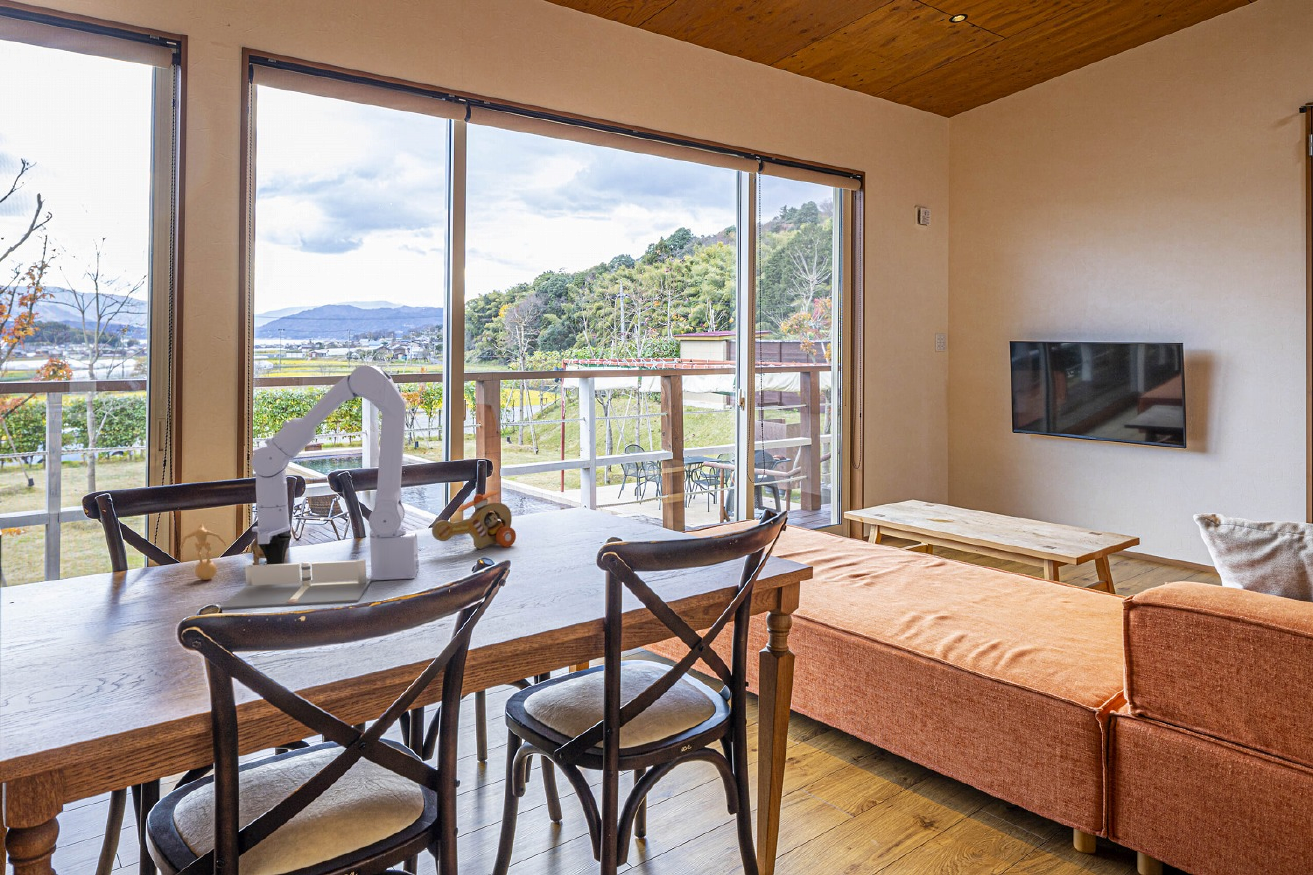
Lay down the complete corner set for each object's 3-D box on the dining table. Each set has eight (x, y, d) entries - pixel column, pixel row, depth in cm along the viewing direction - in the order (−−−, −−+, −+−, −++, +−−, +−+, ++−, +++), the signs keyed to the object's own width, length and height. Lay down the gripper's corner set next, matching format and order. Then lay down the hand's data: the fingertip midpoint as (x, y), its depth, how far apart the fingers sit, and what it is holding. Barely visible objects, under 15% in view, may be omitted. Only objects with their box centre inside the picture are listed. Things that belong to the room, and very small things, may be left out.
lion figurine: (283, 572, 176) (280, 530, 175) (255, 576, 173) (253, 534, 172) (270, 558, 188) (268, 519, 187) (245, 561, 185) (242, 522, 184)
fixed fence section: (367, 581, 166) (366, 559, 166) (365, 583, 165) (364, 561, 164) (303, 584, 164) (302, 562, 164) (301, 586, 163) (300, 564, 162)
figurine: (230, 575, 173) (226, 519, 172) (226, 582, 168) (222, 524, 166) (185, 579, 170) (182, 522, 169) (179, 586, 165) (175, 528, 163)
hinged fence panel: (301, 581, 164) (300, 562, 164) (299, 583, 163) (298, 564, 162) (247, 583, 162) (246, 565, 162) (245, 585, 161) (244, 567, 161)
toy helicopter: (520, 544, 199) (519, 489, 197) (443, 560, 184) (441, 500, 183) (501, 539, 205) (500, 485, 203) (425, 554, 190) (423, 495, 189)
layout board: (373, 578, 169) (373, 576, 169) (357, 601, 154) (357, 599, 154) (249, 584, 166) (249, 582, 166) (220, 609, 150) (220, 606, 150)
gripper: (262, 499, 172) (266, 562, 174) (239, 512, 158) (243, 581, 159) (298, 498, 173) (301, 561, 175) (277, 511, 159) (281, 579, 160)
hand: (276, 571), depth 167 cm, fingers closed
